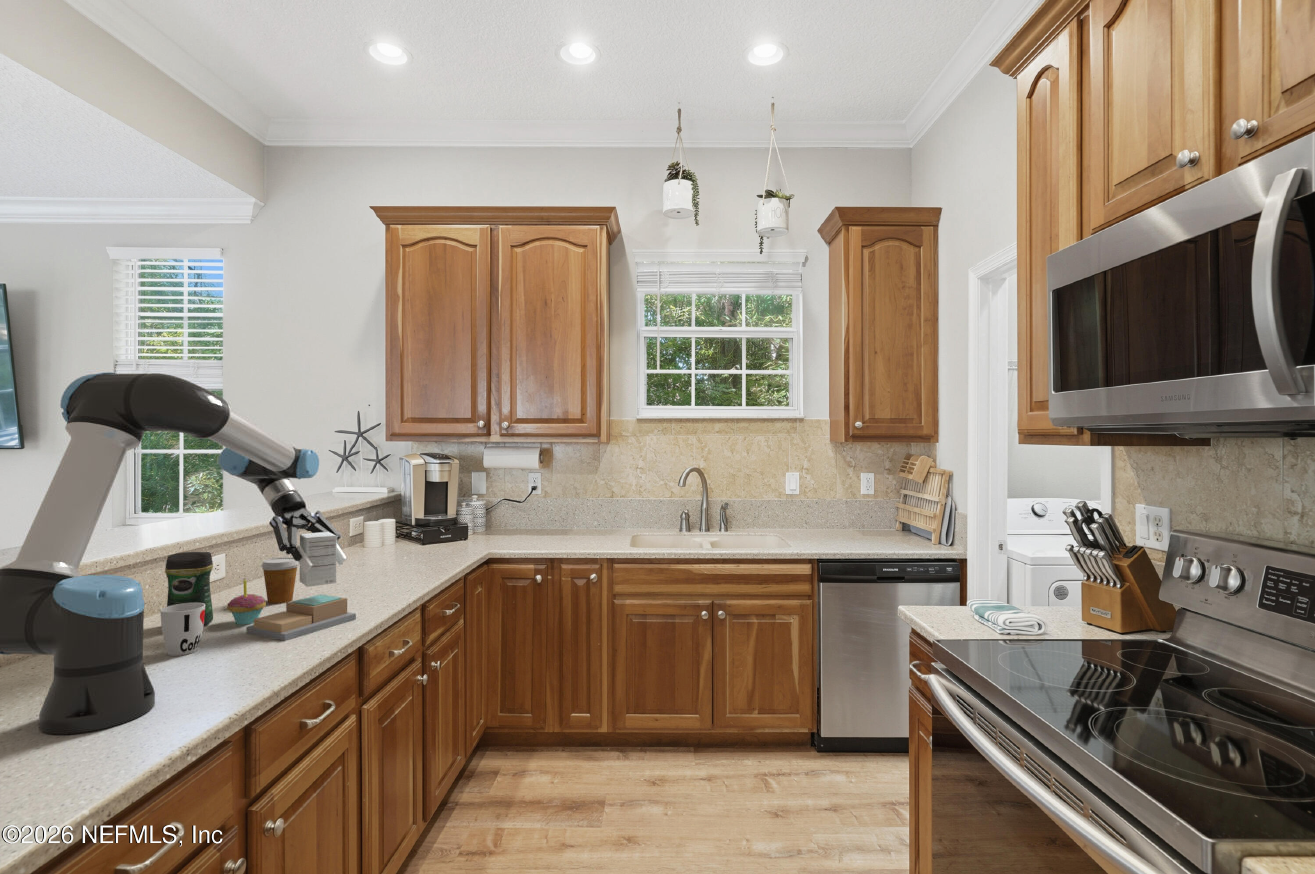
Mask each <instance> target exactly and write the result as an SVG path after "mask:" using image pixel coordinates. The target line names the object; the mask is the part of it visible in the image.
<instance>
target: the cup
mask: <svg viewBox="0 0 1315 874" xmlns="http://www.w3.org/2000/svg"><path fill="white" fill-rule="evenodd" d="M159 610H160V611H159V612H160V625H161V626H160V627H161V632H162V637H163V643H164V646H165V648H166V651H167V653H168V655H169V656H171V657H172V656H173V657H175V656H176V657H179V656H186V655H189V654H193V653H195V652H197V651H198V648H199V646H200V643H201V639H202V635H203V631H204V626H205V625H204V617H205V604H204V603H183V604H176V605H171V606H167V605H166V606H165V607H162V608H161V609H159Z"/></svg>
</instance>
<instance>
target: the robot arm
mask: <svg viewBox="0 0 1315 874" xmlns="http://www.w3.org/2000/svg"><path fill="white" fill-rule="evenodd" d="M60 409H62V410H63V411H62V412H61V415H62V418H63V420H64V421H65V422H66V424H65V431H66V432H67V433H68V435H69V437H70V441H69V442H68V445H67V447H66V449H65V451H64V454H63V456H62V458H61V460H60V463H59V464H58V466H57V468H56V470H55V472H54V475H53V477H52V480H51V482H50V484H49V486H48V488H47V491H46V492H45V495H44V497H43V500H42V502H41V504H40V505H39V509H38V511H37V513H36V515H35V517H34V519H33V521H32V523H31V525H30V527H29V530H28V532H27V535H26V537H25V539H24V540H23V544H22V546H21V548H20V550H19V552H18V554H17V555H16V556H17V557H16V558H15V560H13V561H11V562H9V563H8V564H6V565H3V566H1V567H0V655H4V656H5V655H6V656H9V655H14V654H15V655H48V656H53V679H52V682H51V684H50V687H49V689H48V691H47V695H46V696H45V699H44V702H43V704H42V705H41V706H42V707H41V710H40V712H39V716H38V729H39V731H41V732H42V733H45V734H49V735H74V734H82V733H89V732H93V731H94V732H95V731H98V730H102V729H108V728H111V727H114V726H118V725H122V724H124V723H127V722H130V721H132V720H135V719H137V718H139V717H141V716H143V715H145V714H146V713H148V712H150V711H151V710H152V709H153V708H154V707H155V704H156V692H155V689H154V685H153V684H152V681H151V679H150V676H149V674H148V673H147V670H146V667H145V665H144V661H143V660H144V659H143V657H144V656H143V655H144V652H143V649H144V623H145V622H144V616H145V614H144V613H145V600H144V594H143V593H144V592H143V587H142V585H141V583H140V582H139V581H138V580H136V579H134V578H131V577H128V576H122V575H114V574H113V575H112V574H102V575H96V574H91V575H82V574H81V573H80V572H79V567H80V565H81V561H82V560H83V558H84V555H85V552H86V551H87V548H88V545H89V543H90V540H91V538H92V535H93V533H94V531H95V529H96V526H97V523H98V521H99V519H100V516H101V514H102V512H103V509H104V506H105V505H106V502H107V499H108V496H109V495H110V492H111V490H112V488H113V485H114V482H115V479H116V478H117V475H118V473H119V471H120V468H121V466H122V463H123V461H124V457H125V455H126V454H127V452H128V451H131V450H133V449H136V448H139V446H140V444H141V441H142V439H143V436H144V434H145V432H170V433H171V432H172V433H181V434H182V433H183V434H187V435H190V436H191V437H193V438H196V439H201V440H205V439H209V440H210V441H213V443H214V442H215V443H217V444H218V445H220V446H223V447H225V448H223V449H222V451H221V452H220V454H219V456H218V465H219V467H220V468H221V469H222V470H223V471H225V472H227V474H229V475H231V476H234V477H237V478H239V479H242V480H245V481H247V482H249V483H252V484H253V485H255V486H257V489H258V490H259V492H260V493H261V495H262V497H263V498H264V500H265V501H266V502H267V504H268V506H269V507H270V508H271V511H272V512H273V514H274V515H273V517H272V518H271V520H270V521H269V522H268V523H269V525H270V527H271V528H272V529H273V533H274V536H275V539H276V540H275V541H276V543H277V546H278V551H280V552H284V551H285V554H286V555H291V556H292V557H293V558H294V560H295V561H298V562H299V564H298V565H299V567H300V566H301V567H302V569H303V570H304V572H308V571H309V569H310V568H311V567H312V566H313V565H312V563H311V561H310V560H309V558H308V557H307V555H306V553H305V552H304V550H303V549H302V547H301V546H300V545H297V538H298V537H297V534H298V533H297V532H298V530H305V531H307V532H310V533H319V532H330V533H332V534H334V535H336V536H337V553H336V564H338V566H342V565H343V564H344V562H345V561H346V560H347V555H346V554H345V553H344V552H343V548H342V546H341V544H340V543H339V540H340V539H341V537H342V534H341V533H340V532H339V531H338V530H337V529H336V528H335V527H334V526H333V525H332V524H331V523H330V522H329V521H328V519H326V518H325V517H324V515H323V513H322V512H321V511H320V510H316V512H311V511H309V510H308V509H307V506H306V502H305V500H304V499H303V497H302V495H301V494H300V493H299V491H298V490H297V488H296V486H295V485H294V484H293V482H292V479H295V480H302V479H312V478H313V477H315V476H316V475H317V473H318V472H319V467H320V458H319V455H318V453H317V452H316V451H314V450H313V449H307V448H302V449H300V448H297V447H294V446H292V445H291V444H289V443H287V441H284V440H282V439H281V438H279V437H278V436H276V435H274V434H273V433H271V432H269V431H267V430H266V429H264V428H262V427H260V426H259V425H257V424H255V423H254V422H252V421H250V420H249V419H247V418H246V417H244V416H243V415H241V414H239V413H237V412H235V411H234V410H232V409H231V407H230V404H229V403H228V402H227V401H226V400H225V399H224V398H222V397H220V396H219V395H217V394H216V393H214V392H212V391H210V390H208V389H206V388H205V387H202V386H200V385H198V384H196V383H194V382H191V381H189V380H186V379H183V378H182V377H177V376H174V375H171V374H166V373H159V372H158V373H157V372H156V373H153V372H152V373H118V372H110V371H109V372H99V373H91V374H86V375H83V376H80V377H79V378H78V377H77V378H76V379H74V380H73V381H72V382H71V383H70V384H69V385H68V386H67V387H66V388H65V390H64V391H63V393H62V395H61V400H60ZM284 526H286V530H285V527H284Z"/></svg>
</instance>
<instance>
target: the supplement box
mask: <svg viewBox="0 0 1315 874" xmlns="http://www.w3.org/2000/svg"><path fill="white" fill-rule="evenodd" d="M299 546H301V547H302V549H303V550H304V552H305V553H306V555H307V557H308V558H309V560H310V561H311V563H312V565H313V566H312V567H311V568H310V569H309V571H308V572H304V570H303V569H302V567H301V566H300V565H299V582H300V583H302V585H304V586H305V587H306V588H310V587H316V586H324V585H332V584H337V561H336V553H337V536H336V535H334V534H332V533H330V532H319V533H312V532H309V533H299Z"/></svg>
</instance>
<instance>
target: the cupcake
mask: <svg viewBox="0 0 1315 874" xmlns="http://www.w3.org/2000/svg"><path fill="white" fill-rule="evenodd" d="M247 583H248V582H247V580H246V577H244V580H243V594H241V595H238V596H236V597H234V598H233V599H230V601H228V603H227V605H226V610H227V611H228V612H230V613H231V614H232V616H233V618H234V619H233V620H234V622H235V624H236V625H239V626H240V625H241V626H243V625H250V624H252V625H253V624H254V619H256V618H260V615H261V612H262V611H263V610H264V608H265V607H266V606H267V605H266V604H267V603H266V602H267V600H265V598H264V597H263V596H261V595H257V594H254V593H249V594H248V590H247V589H248V588H247V586H248V585H247Z"/></svg>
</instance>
